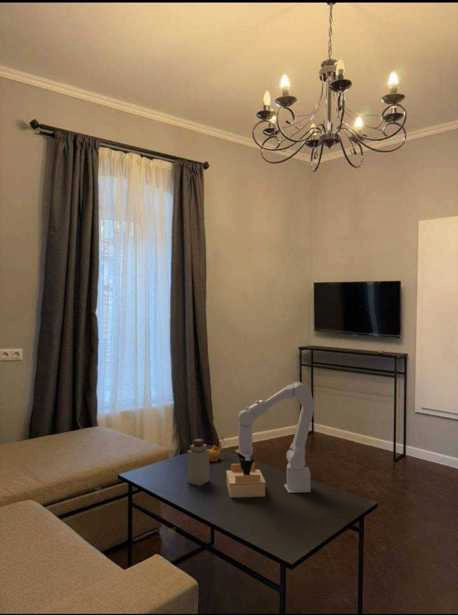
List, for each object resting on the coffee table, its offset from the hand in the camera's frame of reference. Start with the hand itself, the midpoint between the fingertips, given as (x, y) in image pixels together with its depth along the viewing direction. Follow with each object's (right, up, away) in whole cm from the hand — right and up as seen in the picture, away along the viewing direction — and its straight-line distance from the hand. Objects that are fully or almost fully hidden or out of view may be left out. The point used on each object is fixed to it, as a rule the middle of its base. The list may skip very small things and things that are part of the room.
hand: (245, 472), depth 181 cm
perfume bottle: (-20, -8, +9) cm, 23 cm away
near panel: (0, -2, -4) cm, 4 cm away
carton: (0, -7, 0) cm, 7 cm away
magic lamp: (-16, -8, +37) cm, 41 cm away
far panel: (0, -2, +4) cm, 4 cm away
